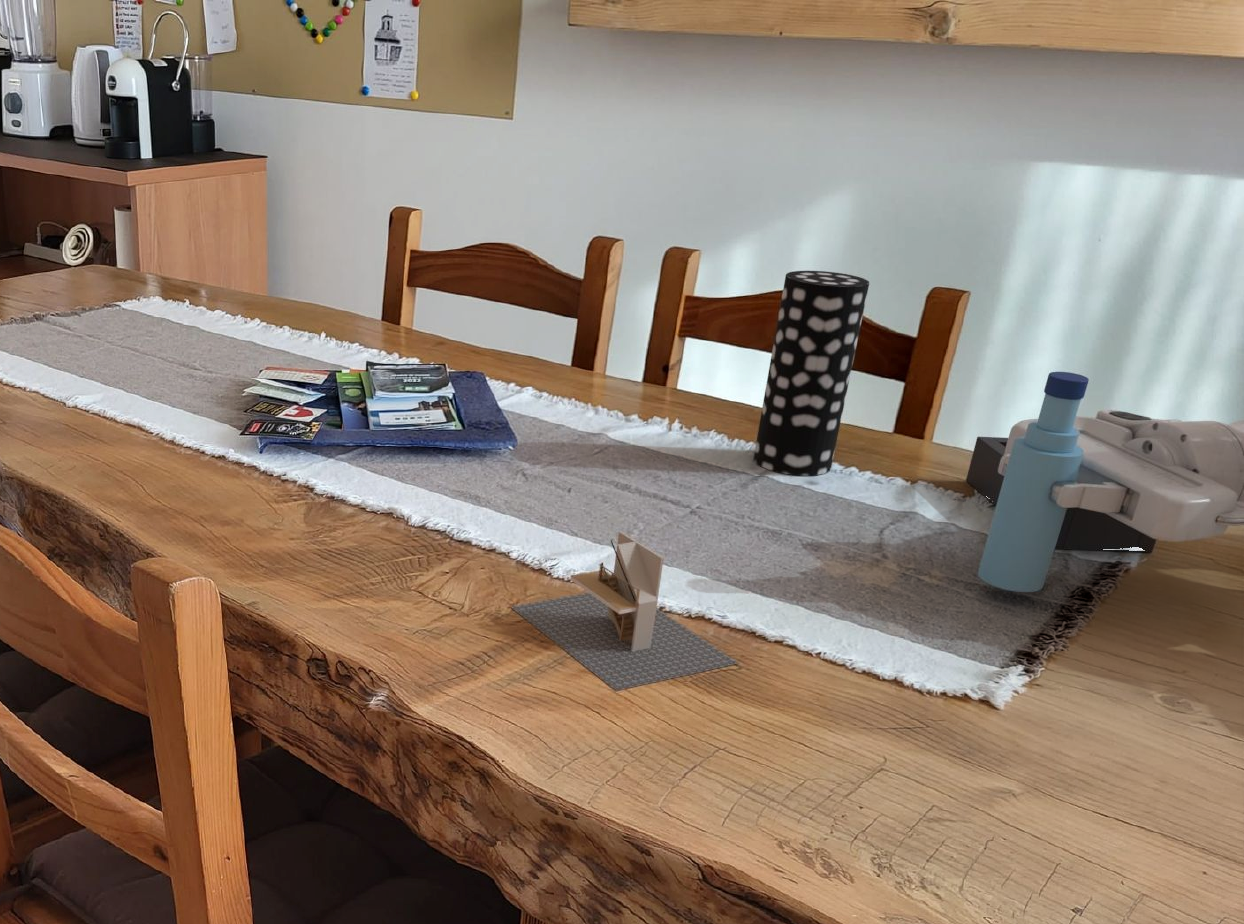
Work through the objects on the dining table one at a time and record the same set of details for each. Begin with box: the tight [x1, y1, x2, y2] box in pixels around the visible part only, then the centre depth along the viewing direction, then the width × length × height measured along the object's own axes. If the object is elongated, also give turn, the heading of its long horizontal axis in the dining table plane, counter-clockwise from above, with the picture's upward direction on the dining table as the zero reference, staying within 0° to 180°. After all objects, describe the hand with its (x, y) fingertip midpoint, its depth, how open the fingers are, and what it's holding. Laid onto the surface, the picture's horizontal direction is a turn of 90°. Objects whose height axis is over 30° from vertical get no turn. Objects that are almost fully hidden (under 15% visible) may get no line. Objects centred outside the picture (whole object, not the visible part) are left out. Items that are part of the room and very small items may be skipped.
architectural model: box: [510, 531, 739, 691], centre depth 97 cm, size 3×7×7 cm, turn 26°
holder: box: [965, 436, 1157, 554], centre depth 126 cm, size 10×19×5 cm, turn 0°
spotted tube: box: [752, 270, 870, 477], centre depth 134 cm, size 8×8×20 cm
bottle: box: [977, 371, 1090, 593], centre depth 103 cm, size 5×5×18 cm
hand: (1029, 480), depth 103 cm, fingers closed on bottle, 5 cm apart
